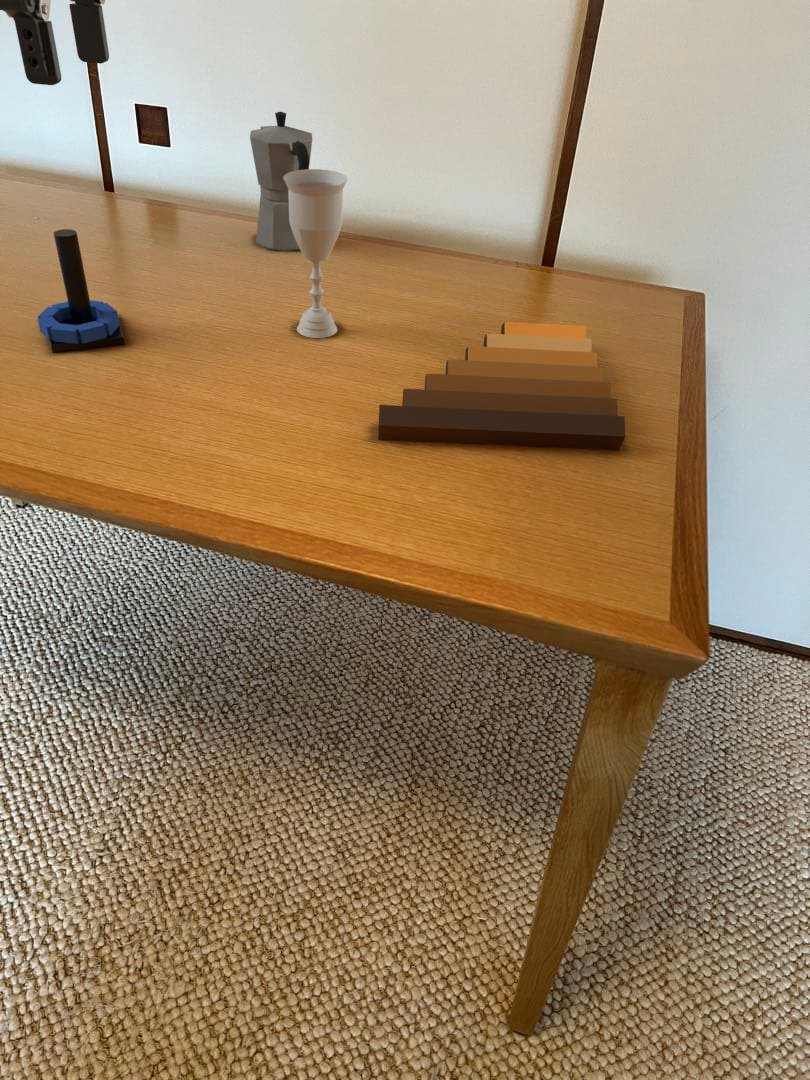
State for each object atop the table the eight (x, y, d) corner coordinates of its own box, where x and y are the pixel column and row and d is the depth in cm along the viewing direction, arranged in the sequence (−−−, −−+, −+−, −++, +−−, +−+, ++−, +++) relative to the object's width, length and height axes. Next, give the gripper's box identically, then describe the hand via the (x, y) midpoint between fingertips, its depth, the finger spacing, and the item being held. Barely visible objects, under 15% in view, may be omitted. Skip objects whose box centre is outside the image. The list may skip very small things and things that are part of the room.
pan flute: (378, 443, 82) (620, 453, 84) (379, 413, 80) (628, 425, 81) (380, 334, 102) (577, 344, 103) (381, 309, 99) (583, 319, 101)
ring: (101, 346, 93) (98, 333, 92) (29, 339, 93) (26, 326, 92) (127, 316, 99) (125, 303, 98) (60, 309, 100) (57, 297, 99)
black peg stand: (52, 353, 93) (28, 248, 85) (47, 324, 99) (23, 223, 91) (125, 344, 96) (107, 242, 88) (115, 316, 101) (98, 218, 94)
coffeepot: (240, 230, 128) (232, 102, 116) (296, 223, 132) (293, 100, 120) (277, 264, 118) (272, 129, 106) (336, 256, 121) (337, 125, 110)
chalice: (325, 312, 106) (324, 166, 94) (356, 332, 102) (360, 181, 90) (277, 325, 102) (270, 174, 91) (308, 346, 98) (305, 191, 87)
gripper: (13, -225, 55) (63, 52, 65) (-113, -253, 44) (-30, 86, 54) (122, -217, 54) (154, 60, 65) (22, -243, 43) (80, 96, 54)
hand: (71, 72), depth 59 cm, fingers open, 8 cm apart
